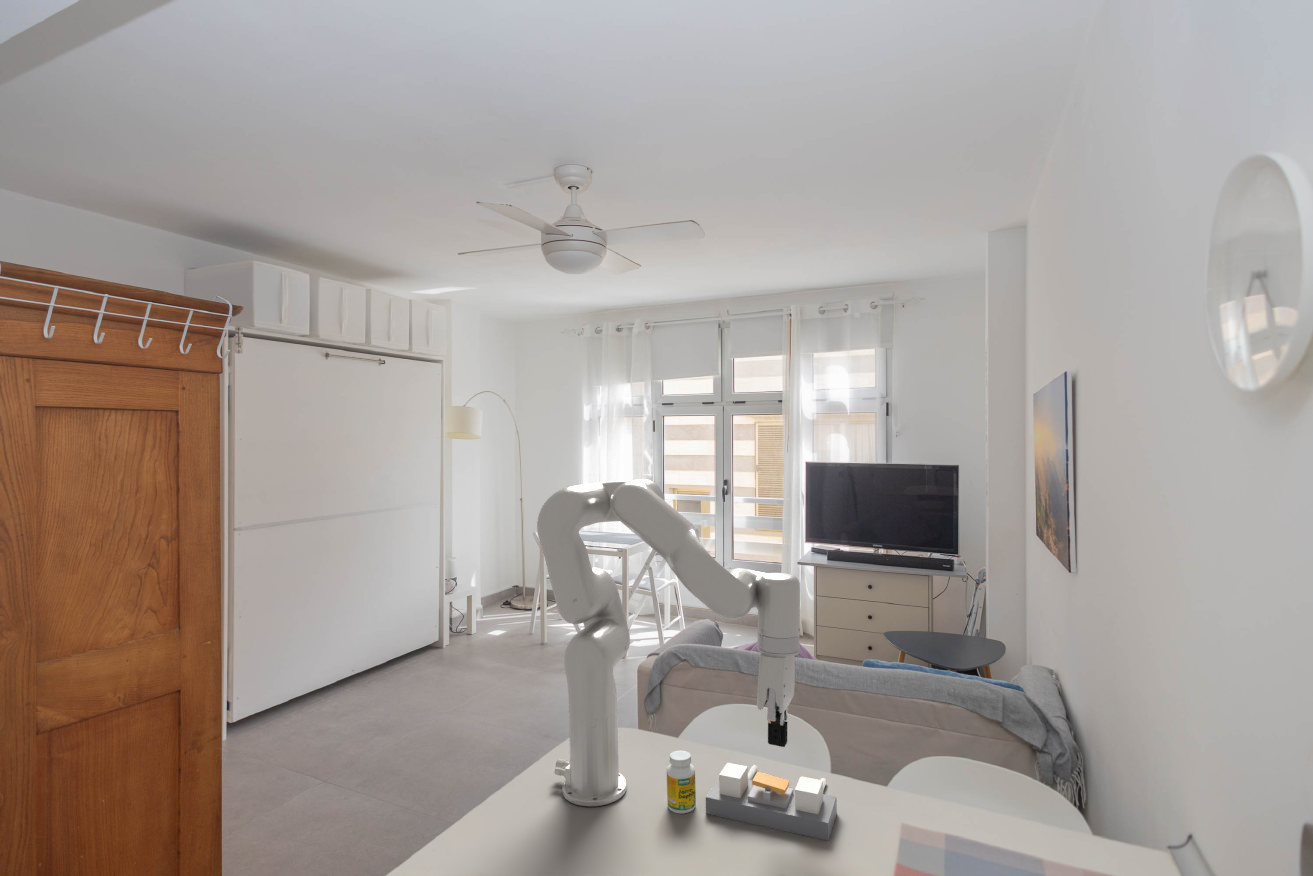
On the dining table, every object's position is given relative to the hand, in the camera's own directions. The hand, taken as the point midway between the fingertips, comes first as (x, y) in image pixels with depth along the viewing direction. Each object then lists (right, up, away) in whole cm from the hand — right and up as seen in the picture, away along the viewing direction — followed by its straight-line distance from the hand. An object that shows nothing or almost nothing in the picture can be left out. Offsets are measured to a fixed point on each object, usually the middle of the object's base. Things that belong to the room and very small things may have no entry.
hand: (777, 743), depth 119 cm
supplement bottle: (-17, -14, +3) cm, 22 cm away
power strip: (+1, -13, +5) cm, 14 cm away
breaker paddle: (-1, -8, +1) cm, 8 cm away
